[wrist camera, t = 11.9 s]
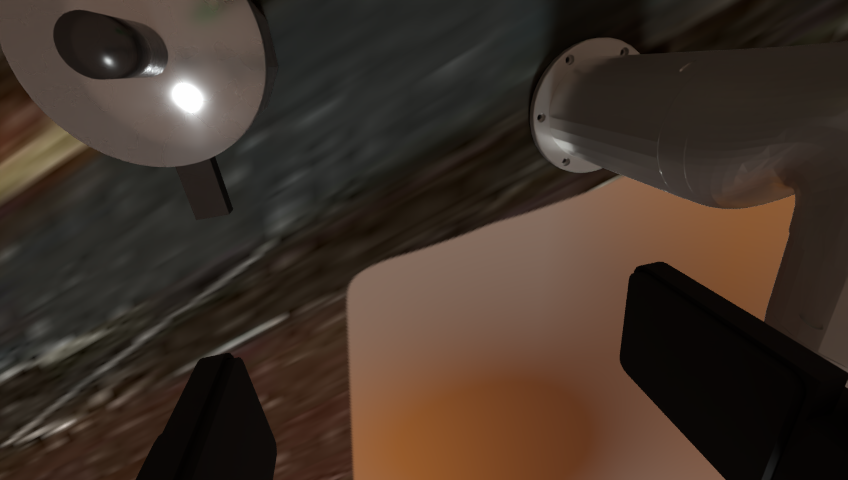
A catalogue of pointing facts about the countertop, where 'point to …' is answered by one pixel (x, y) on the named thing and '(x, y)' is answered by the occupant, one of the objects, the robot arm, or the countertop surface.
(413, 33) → the countertop surface
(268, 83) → the pot
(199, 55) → the lid
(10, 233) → the countertop surface
